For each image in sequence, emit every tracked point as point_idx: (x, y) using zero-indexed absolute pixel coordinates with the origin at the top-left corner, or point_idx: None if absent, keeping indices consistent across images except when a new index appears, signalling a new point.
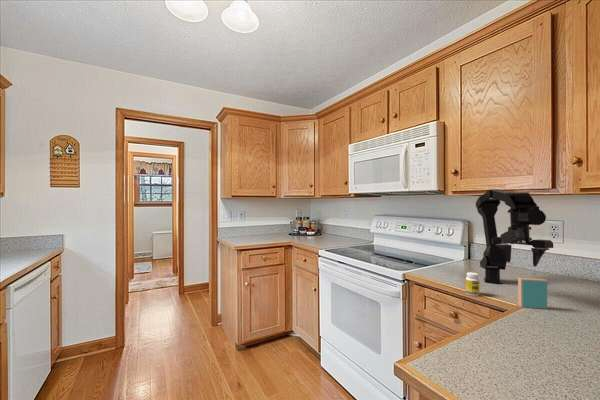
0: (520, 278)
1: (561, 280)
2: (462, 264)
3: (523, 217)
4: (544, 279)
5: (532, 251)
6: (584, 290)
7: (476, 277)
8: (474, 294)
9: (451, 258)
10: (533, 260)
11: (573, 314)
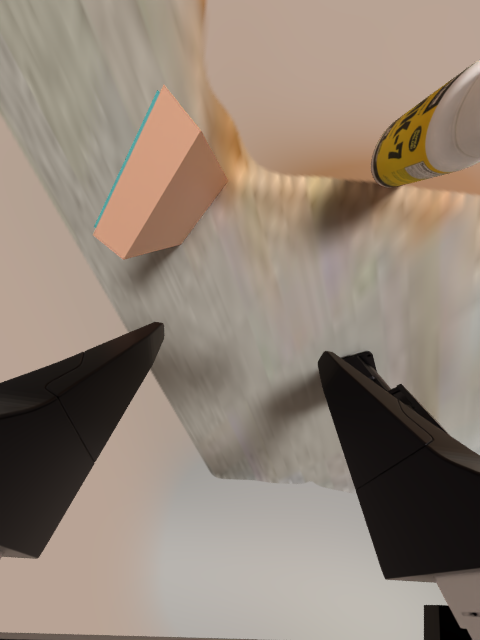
0: (180, 117)
1: (242, 455)
2: None
3: None
4: (114, 250)
5: (8, 413)
6: (196, 426)
7: (476, 80)
8: (393, 122)
9: None
10: (131, 341)
11: None
